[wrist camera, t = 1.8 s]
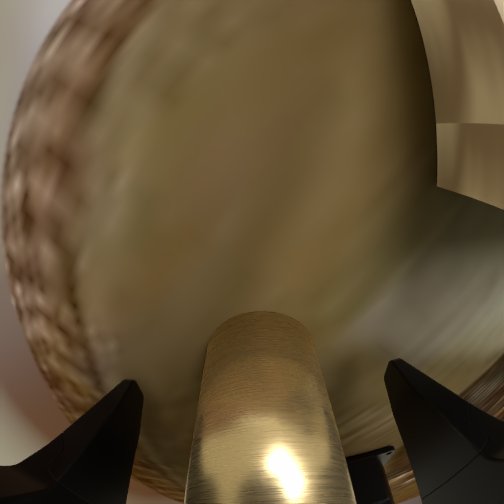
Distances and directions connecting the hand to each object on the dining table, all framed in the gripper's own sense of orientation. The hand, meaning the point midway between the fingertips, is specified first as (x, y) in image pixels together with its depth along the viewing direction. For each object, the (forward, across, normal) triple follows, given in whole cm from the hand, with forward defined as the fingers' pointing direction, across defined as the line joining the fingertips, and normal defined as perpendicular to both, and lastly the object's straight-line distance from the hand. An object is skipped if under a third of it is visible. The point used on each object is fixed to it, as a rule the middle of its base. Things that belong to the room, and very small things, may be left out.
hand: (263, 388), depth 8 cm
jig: (+2, -11, -11) cm, 16 cm away
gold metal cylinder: (+2, 0, 0) cm, 2 cm away
